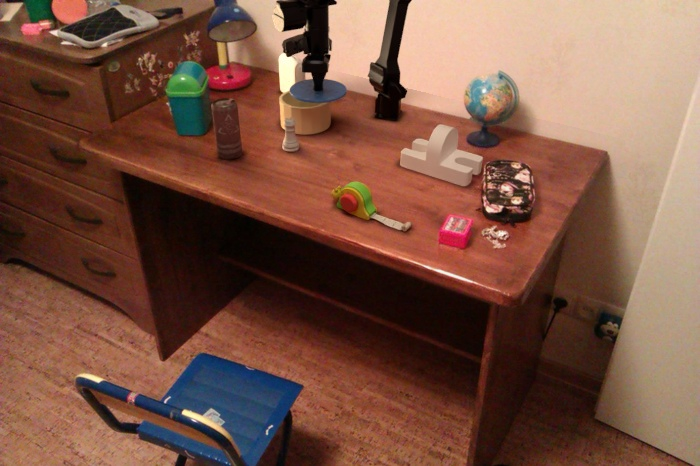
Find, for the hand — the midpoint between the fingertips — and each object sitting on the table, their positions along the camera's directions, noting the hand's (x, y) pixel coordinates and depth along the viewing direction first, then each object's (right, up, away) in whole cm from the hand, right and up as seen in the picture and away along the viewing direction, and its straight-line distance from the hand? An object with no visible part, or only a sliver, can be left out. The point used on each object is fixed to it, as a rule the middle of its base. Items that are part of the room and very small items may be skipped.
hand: (318, 87), depth 154 cm
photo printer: (-9, +4, +29) cm, 30 cm away
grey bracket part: (+30, -21, -7) cm, 37 cm away
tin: (-4, -7, +12) cm, 15 cm away
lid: (0, -1, +1) cm, 1 cm away
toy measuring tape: (+12, -34, -24) cm, 43 cm away
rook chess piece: (-7, -16, 0) cm, 17 cm away
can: (-22, -18, -2) cm, 28 cm away
